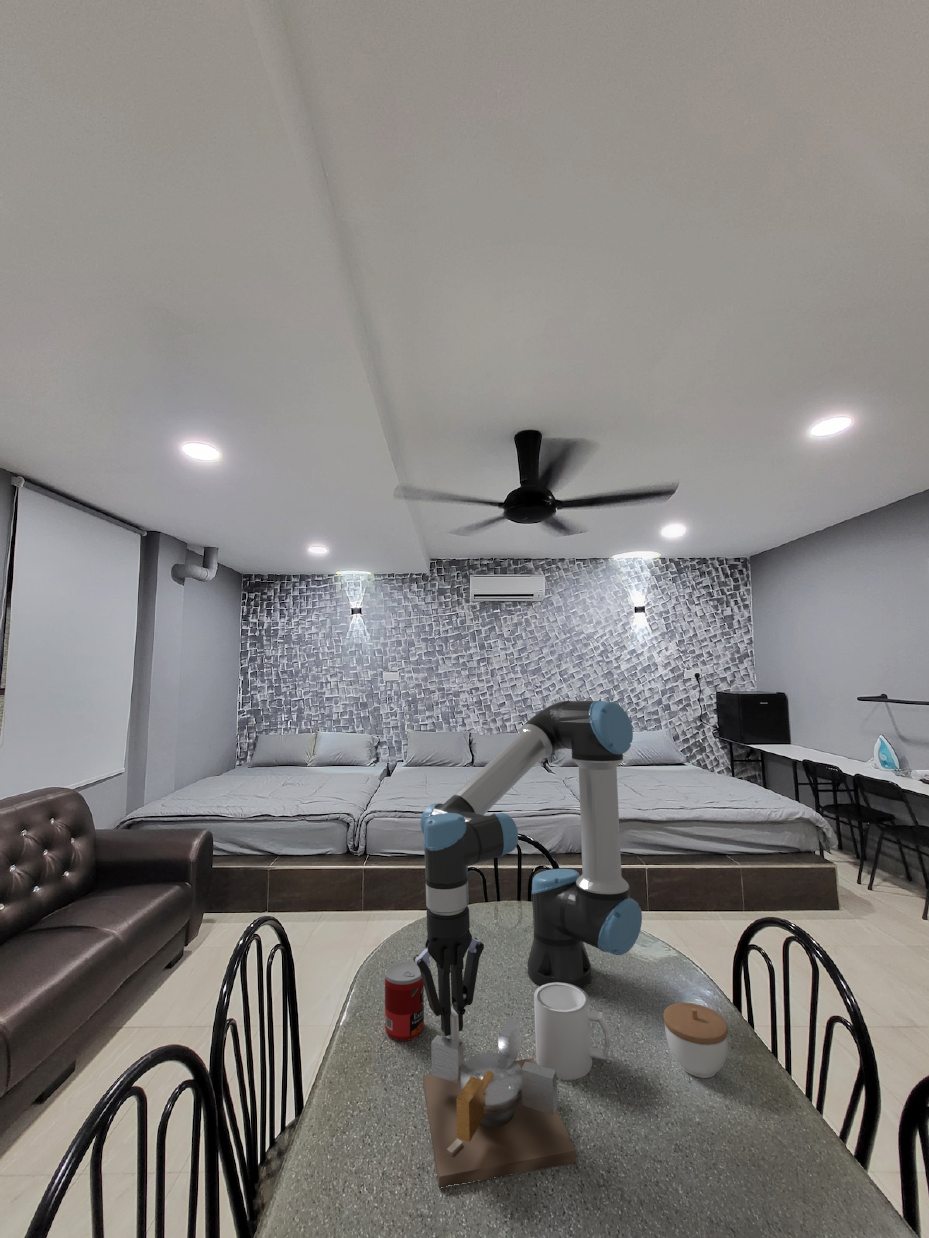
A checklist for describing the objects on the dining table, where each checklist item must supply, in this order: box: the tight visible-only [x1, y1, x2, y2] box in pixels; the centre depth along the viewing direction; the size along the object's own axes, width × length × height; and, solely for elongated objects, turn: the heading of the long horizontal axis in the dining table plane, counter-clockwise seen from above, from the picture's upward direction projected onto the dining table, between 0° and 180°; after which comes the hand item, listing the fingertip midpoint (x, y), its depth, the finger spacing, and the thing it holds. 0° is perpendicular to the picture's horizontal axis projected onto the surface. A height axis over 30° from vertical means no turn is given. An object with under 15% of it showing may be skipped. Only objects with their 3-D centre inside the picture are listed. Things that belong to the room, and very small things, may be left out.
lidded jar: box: [663, 1002, 729, 1079], centre depth 97 cm, size 11×11×9 cm
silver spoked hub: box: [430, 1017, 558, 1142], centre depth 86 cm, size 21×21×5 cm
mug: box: [533, 982, 611, 1081], centre depth 98 cm, size 14×10×11 cm
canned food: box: [384, 961, 425, 1042], centre depth 109 cm, size 8×8×11 cm
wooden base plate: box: [422, 1057, 577, 1189], centre depth 85 cm, size 20×20×4 cm
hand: (453, 1052), depth 91 cm, fingers closed
